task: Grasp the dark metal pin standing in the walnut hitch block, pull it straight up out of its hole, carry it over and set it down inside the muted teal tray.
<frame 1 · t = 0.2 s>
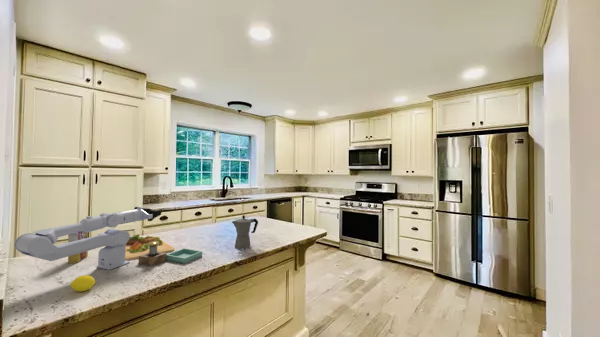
hand: (155, 211, 134), 21 cm above the counter, tool horizontal, fingers open, 7 cm apart
lemon: (82, 291, 91), on the counter
coffeepot: (244, 246, 148), on the counter
candy box: (77, 260, 120), on the counter
pin: (153, 252, 120), in the hitch block
cutting board: (141, 249, 141), on the counter
tray: (184, 258, 127), on the counter
hitch block: (152, 262, 120), on the counter
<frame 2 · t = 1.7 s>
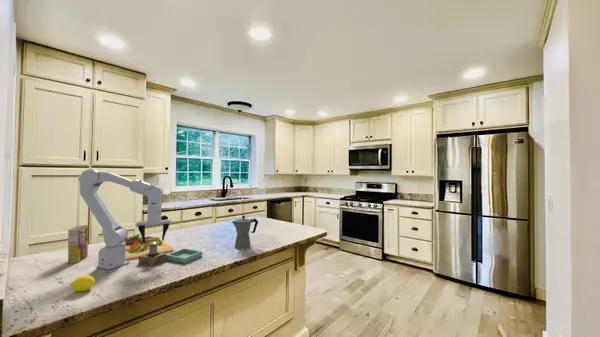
hand: (153, 241, 120), 10 cm above the counter, tool pointing down, fingers open, 7 cm apart
nothing on the counter moved.
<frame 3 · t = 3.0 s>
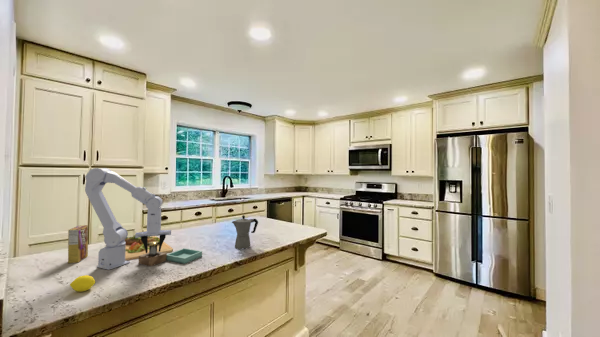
hand: (153, 251, 120), 5 cm above the counter, tool pointing down, fingers closed on pin, 5 cm apart
pin: (153, 252, 120), in the hitch block, touching gripper
everything else where it was.
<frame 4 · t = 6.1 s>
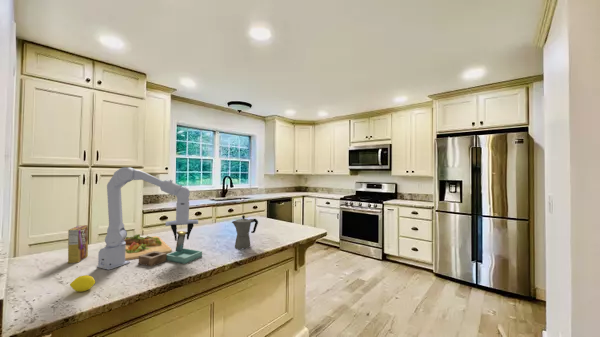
hand: (181, 239, 126), 9 cm above the counter, tool pointing down, fingers closed on pin, 5 cm apart
pin: (180, 241, 126), point 8 cm above the counter, tilted 7°, touching gripper
when the fingers open (7 cm above the counter, at t = 7.3 s): pin drops 1 cm, resting on tray.
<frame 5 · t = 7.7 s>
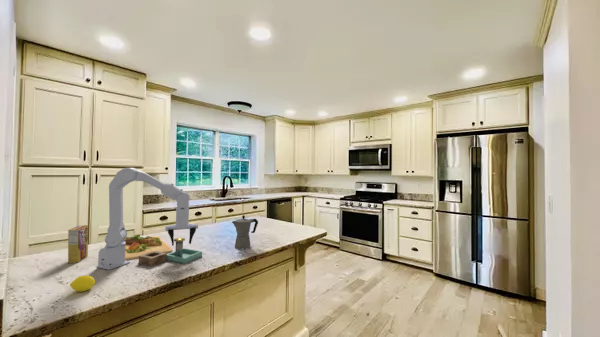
hand: (181, 244, 126), 7 cm above the counter, tool pointing down, fingers open, 7 cm apart
pin: (179, 248, 125), in the tray, point 5 cm above the counter
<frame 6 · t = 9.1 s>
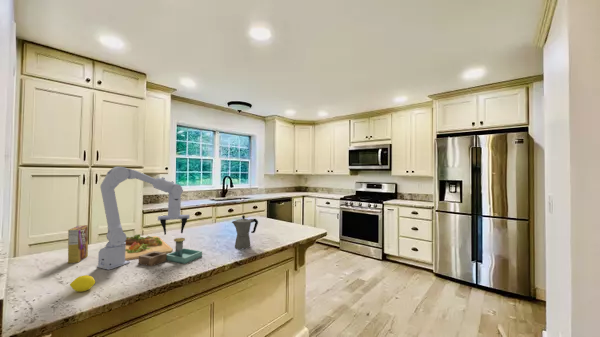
hand: (173, 233, 132), 10 cm above the counter, tool pointing down, fingers open, 7 cm apart
nothing on the counter moved.
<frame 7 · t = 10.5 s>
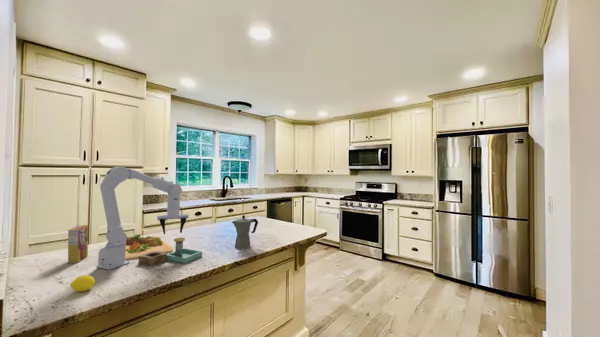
hand: (172, 233, 133), 10 cm above the counter, tool pointing down, fingers open, 7 cm apart
nothing on the counter moved.
at the end: pin inside the target area on the tray (2.5 cm from its centre), point 5.1 cm above the tray's base; the gripper is holding nothing; pin moved 11.0 cm from its start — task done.
